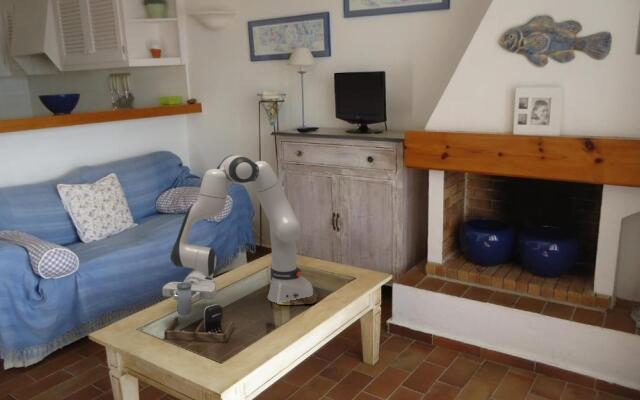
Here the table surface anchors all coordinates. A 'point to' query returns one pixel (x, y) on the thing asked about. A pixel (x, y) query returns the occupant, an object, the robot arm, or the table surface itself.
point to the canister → (184, 298)
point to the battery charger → (213, 318)
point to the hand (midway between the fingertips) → (183, 298)
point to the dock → (197, 333)
